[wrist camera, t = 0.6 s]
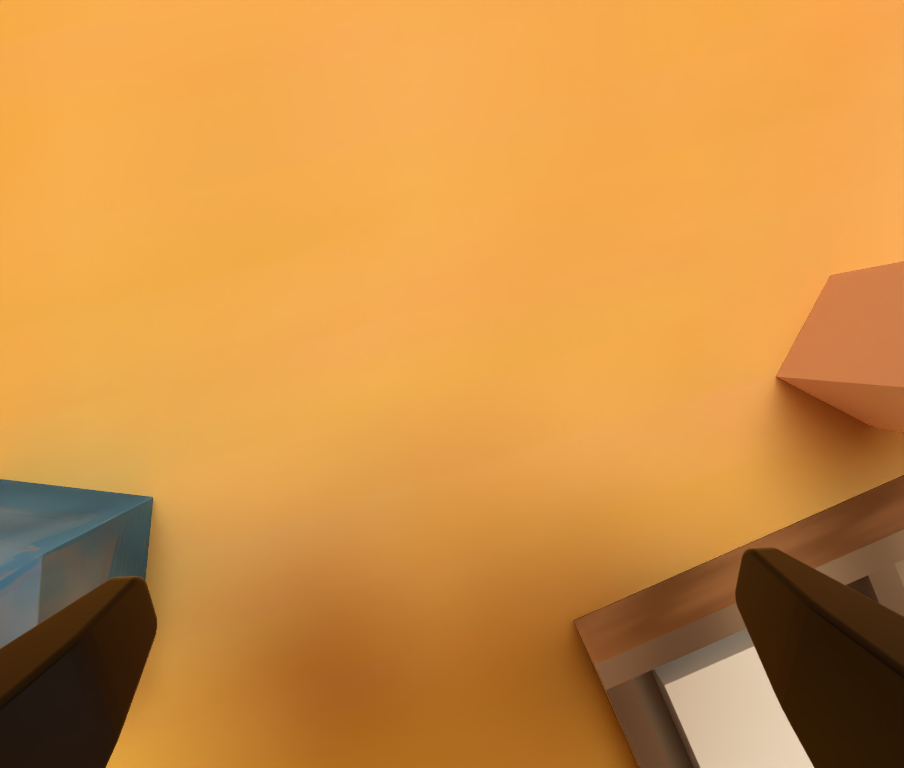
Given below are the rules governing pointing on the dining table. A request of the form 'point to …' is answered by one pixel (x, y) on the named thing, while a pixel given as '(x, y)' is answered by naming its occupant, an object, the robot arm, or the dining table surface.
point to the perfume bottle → (64, 548)
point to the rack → (732, 610)
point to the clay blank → (855, 347)
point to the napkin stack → (728, 708)
